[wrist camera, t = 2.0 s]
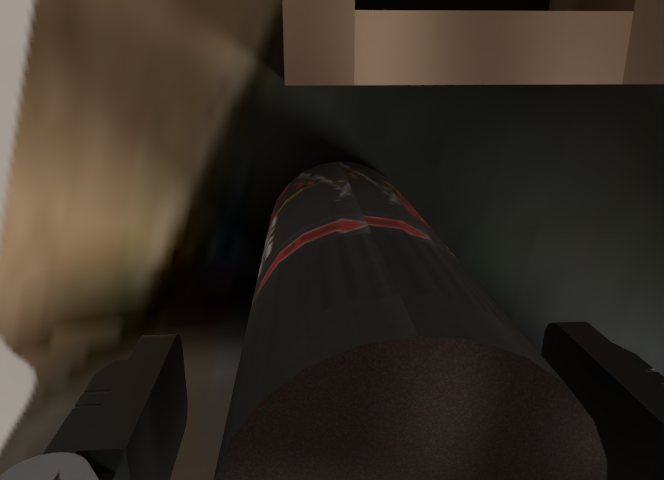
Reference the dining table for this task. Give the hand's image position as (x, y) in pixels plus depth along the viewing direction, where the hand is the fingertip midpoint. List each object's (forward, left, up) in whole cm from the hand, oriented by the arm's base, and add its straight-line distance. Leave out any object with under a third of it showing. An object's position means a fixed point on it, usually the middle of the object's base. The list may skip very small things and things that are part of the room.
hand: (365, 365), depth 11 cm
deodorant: (0, 0, -11) cm, 11 cm away
